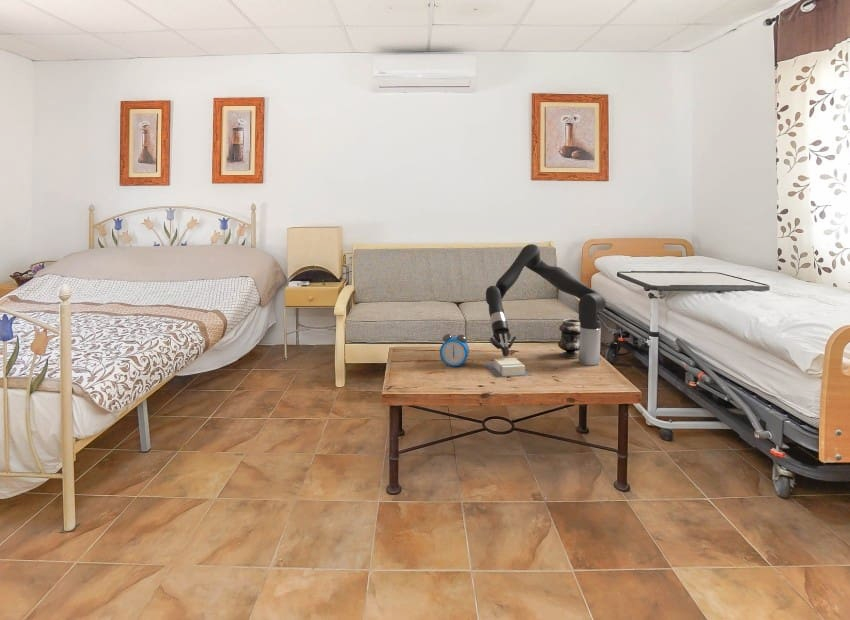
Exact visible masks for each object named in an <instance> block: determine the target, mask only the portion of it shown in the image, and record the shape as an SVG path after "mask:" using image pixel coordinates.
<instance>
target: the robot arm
mask: <svg viewBox="0 0 850 620" xmlns="http://www.w3.org/2000/svg"><path fill="white" fill-rule="evenodd" d="M540 251H541V250H540V248H539V246H538V245H536V244H534V243H529V244H527V245H526V246H524V247H523V248H522V249H521V250H520V252H519V254H518V256H517V257H516V258H515V260H514V261H513V263H512V264H511V265H510V266H509V268H508V269H507V270H506V271H505V272H504V273H503V274H502V275H501V276H500V277H499V278H498V280H497V281H496V284H495V285H490V286H488V287H487V288H486V290H485V301H486V304H488V313H489V317H490V318H489V319H490V325H491V331H492V336H491V337H490V338H489V341H488V342H489V343H490V344H491V345H492V346H494V348H496V349H498V350H501V354H502V355H503V358H509V357H508V356H509V355H510V349H511V348H512V346H513V345H514V343H515V341H516V339H517V337H516V336H513V335H511V334H512V333H510V328H509V325H508V320H507V317H506V314H505V310H504V306H503V302H502V300H503V298H504V297H505V295H506V294H507V292H508V291H509V290H510V289H511V288H512V287H513V286H514V285H515V283H516V282H517V281H518V279H519V277H520V275H521V273H522V271H523V270H524V268H525V267H526V268H527V269H529V270H530V271H532V272H534V273H535V274H538V275H539V276H540V277H541V278H543V279H544V280H545V281H547V282H548V283H549V284H551V286H553V287H554V288H556V289H557V290H559V291H561V292H562V293H565V294H568V295H571V296H573V297H575V298H578V299H579V301H578V320H579V322H580V343H579V350H578V354H579V358H578V363H579V364H581V365H584V366H597V365H599V364H600V357H601V356H600V355H601V353H600V352H601V331H602V322H601V320H598V318H597V313H598V312H602V311H603V310H604V309H606V306H607V301H606V298H605V297H604V295H603V294H602V293H600V292H597V291H596V290H595V289H593V288H591V287H589V286H587V285H585V283H583V282H581V281H580V280H579V279H577V278H576V277H575V276H573V275H571V274H570V273H569V272H568V271H567V270H566V269H564V268H562V267H560V266H553V265H551V266H550V265H548V264H547V263H546V262H545V261H543V260H542V258H541V252H540ZM509 340H510V342H509Z"/></svg>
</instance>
